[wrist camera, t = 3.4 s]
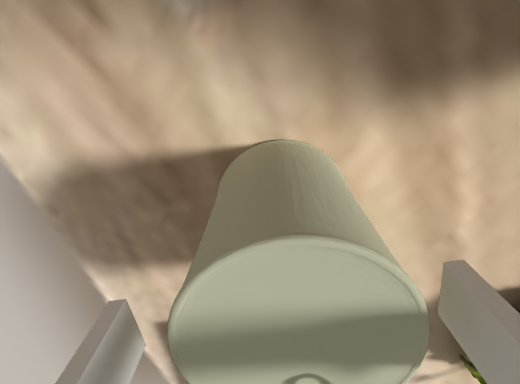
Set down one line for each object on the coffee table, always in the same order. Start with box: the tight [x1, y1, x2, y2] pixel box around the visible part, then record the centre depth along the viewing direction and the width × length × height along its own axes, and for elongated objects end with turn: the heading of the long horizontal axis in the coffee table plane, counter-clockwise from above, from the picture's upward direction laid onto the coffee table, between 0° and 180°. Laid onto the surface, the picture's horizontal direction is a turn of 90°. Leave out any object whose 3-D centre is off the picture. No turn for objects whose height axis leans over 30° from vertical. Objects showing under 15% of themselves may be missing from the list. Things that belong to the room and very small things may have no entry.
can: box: [167, 140, 430, 384], centre depth 15 cm, size 9×9×12 cm
